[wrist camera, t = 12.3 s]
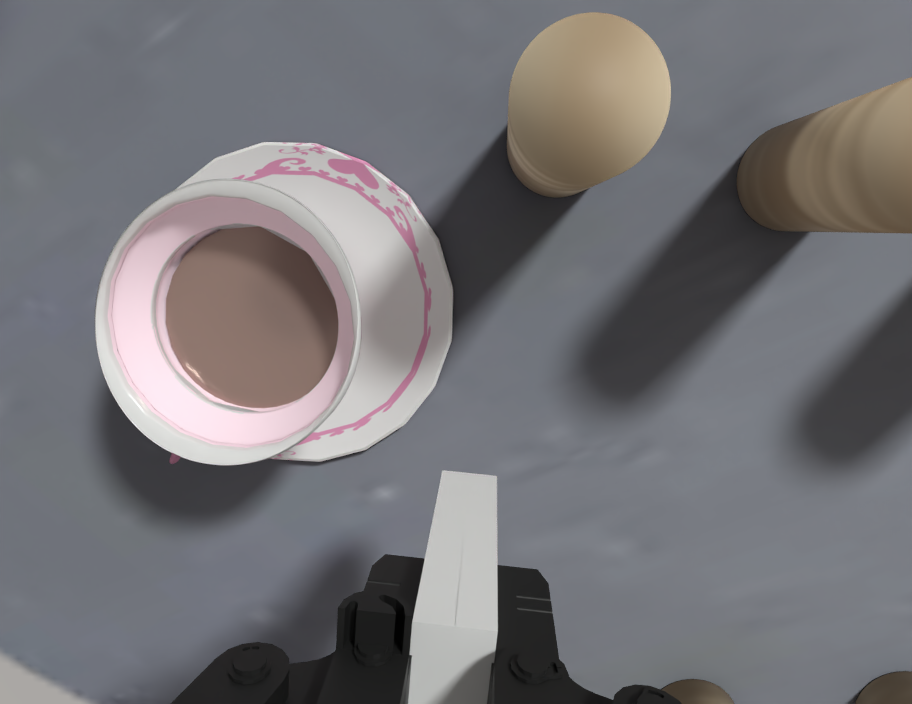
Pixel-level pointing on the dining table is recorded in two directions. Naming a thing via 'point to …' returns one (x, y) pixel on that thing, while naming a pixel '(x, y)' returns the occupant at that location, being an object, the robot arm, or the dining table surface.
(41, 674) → the dining table surface
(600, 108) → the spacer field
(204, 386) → the teacup
